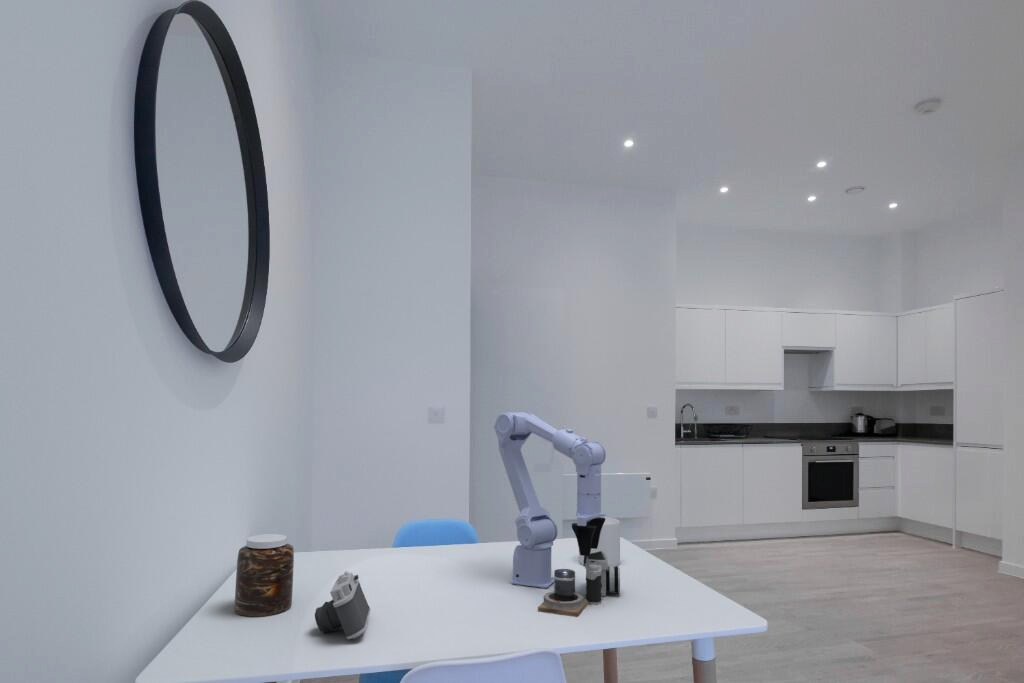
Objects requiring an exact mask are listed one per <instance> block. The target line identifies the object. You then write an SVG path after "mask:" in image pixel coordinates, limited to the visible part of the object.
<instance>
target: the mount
mask: <svg viewBox="0 0 1024 683" xmlns="http://www.w3.org/2000/svg"><path fill="white" fill-rule="evenodd" d="M588 605H589V604H588V600H586V599H584V597H583V595H582V594H580V593H577V592H575V600H574V601H569V602H561V601H559V600H558V601H555V600H554V590H553V591H549V592H546V593H545V594H543V601H542V602H541V603H540V604H539V606H537V611H538V612H542V613H549V614H556V615H557V614H558V615H563V616H570V617H579V616H580V614H582V612H583V611H584V610H585V608H586V607H587V606H588Z"/></svg>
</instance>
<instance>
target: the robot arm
mask: <svg viewBox="0 0 1024 683" xmlns="http://www.w3.org/2000/svg"><path fill="white" fill-rule="evenodd" d="M494 423H495V424H494V425H493V428H494V431H495V434H496V437H497V442H498V451H499V455H500V457H501V460H502V463H503V466H504V469H505V472H506V474H507V478H508V480H509V484H510V486H511V490H512V492H513V496H514V499H515V501H516V504H517V507H518V510H519V514H518V515H517V517H516V519H515V521H514V522H515V525H516V536H517V537H516V538H517V540H518V542H519V543H520V544H517V545H516V546H515V548H514V550H513V555H512V557H513V558H512V581H511V584H512V585H519V586H525V587H526V586H527V587H528V586H529V587H534V588H543V589H548V588H549V587H550V586H551V585H552V584H554V577H552V546H554V542H555V540H556V539H557V538H558V533H559V530H558V526H557V523H556V521H555V520H554V519H553V518H552V517H551V514H550V512H549V510H547V509H546V508H544V507H543V506H541V505H540V504H541V503H540V502H539V499H538V495H537V493H536V490H535V487H534V485H533V481H532V479H531V476H530V474H529V470H528V467H527V464H526V462H525V458H524V457H523V453H522V447H523V445H525V444H526V442H527V440H528V439H529V438H530V436H531V434H533V435H536V436H538V437H540V438H542V439H544V440H546V441H548V442H551V443H552V446H553V448H554V449H553V450H555V451H556V452H559V453H560V454H563V455H564V456H566V457H568V458H570V459H571V460H572V462H573V464H574V465H575V473H576V477H577V478H576V480H577V481H576V485H577V486H576V502H577V503H576V511H575V512H576V514H575V515H576V519H577V520H576V522H573V523H571V529H572V531H573V532H574V534H575V538H576V541H577V546H578V552H579V551H580V555H583V556H590V552H591V548H593V549H597V547H598V543H599V538H600V533H601V529H602V527H603V524H604V522H605V518H603V517H607V513H606V512H602V465H603V463H604V462H605V461H606V457H607V456H606V455H607V453H606V450H605V448H604V446H603V445H602V444H600V442H598V441H590V442H589V441H588V438H587V437H585V436H584V437H583V436H582V437H581V436H580V435H577V434H575V433H574V430H573V429H571V428H563V429H560V430H558V429H557V428H555V427H554V426H551V425H550V424H548V423H547V422H545V421H544V420H542V419H540V418H539V417H538V416H537V414H532V413H530V412H528V411H522V412H520V411H519V412H518V411H517V412H508V411H502V412H500V413H499V414H498V416H497V418H496V419H495V422H494Z"/></svg>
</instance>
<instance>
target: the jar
mask: <svg viewBox="0 0 1024 683" xmlns="http://www.w3.org/2000/svg"><path fill="white" fill-rule="evenodd" d="M287 538H288V537H287V536H286V535H285V534H280V533H264V534H255V535H251V536H249V537H248V538H246V544H245V545H244V546H242V547H241V548H240V549H238V553H237V559H236V560H237V561H236V576H235V591H234V592H235V593H234V612H235V613H236V614H237V615H239V616H243V617H251V618H252V617H255V618H257V617H259V618H261V617H268V616H274V615H279V614H282V613H284V612H286V611H288V610H289V609H292V605H293V604H292V603H293V586H294V585H293V584H294V566H295V565H294V563H295V562H294V559H295V556H294V555H295V553H294V551H295V550H294V545H292V544H289V543H288V542H287Z"/></svg>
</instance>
